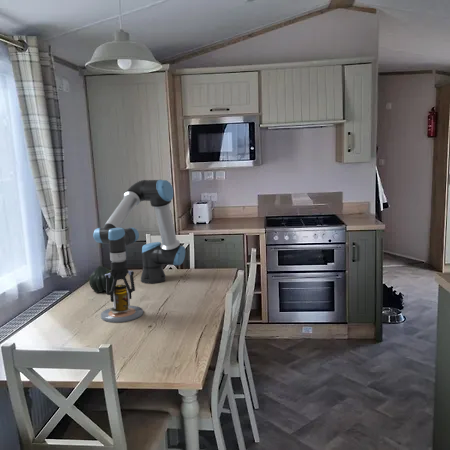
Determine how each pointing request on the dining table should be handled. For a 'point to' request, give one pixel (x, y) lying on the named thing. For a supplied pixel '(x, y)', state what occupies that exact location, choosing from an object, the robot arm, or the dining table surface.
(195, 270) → the dining table surface
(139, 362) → the dining table surface
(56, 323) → the dining table surface
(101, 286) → the squash
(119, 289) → the condiment
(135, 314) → the ring stand
